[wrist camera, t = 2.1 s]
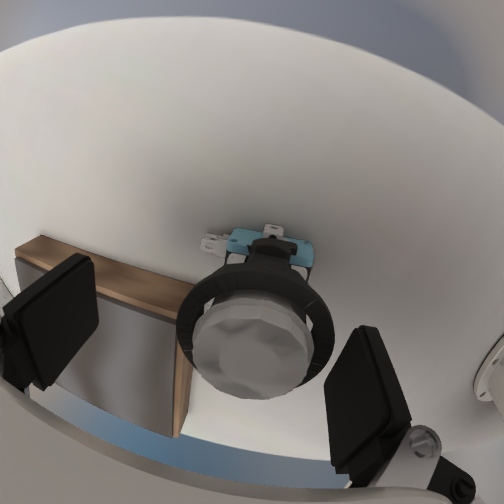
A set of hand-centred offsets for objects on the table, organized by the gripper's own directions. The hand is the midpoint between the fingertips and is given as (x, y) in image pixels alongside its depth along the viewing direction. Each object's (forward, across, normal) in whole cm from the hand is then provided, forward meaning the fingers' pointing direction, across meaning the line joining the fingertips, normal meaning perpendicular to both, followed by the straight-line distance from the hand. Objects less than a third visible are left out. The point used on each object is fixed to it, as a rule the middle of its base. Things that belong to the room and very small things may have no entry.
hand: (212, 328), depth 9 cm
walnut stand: (+9, +10, +12) cm, 18 cm away
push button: (+9, -1, 0) cm, 9 cm away
